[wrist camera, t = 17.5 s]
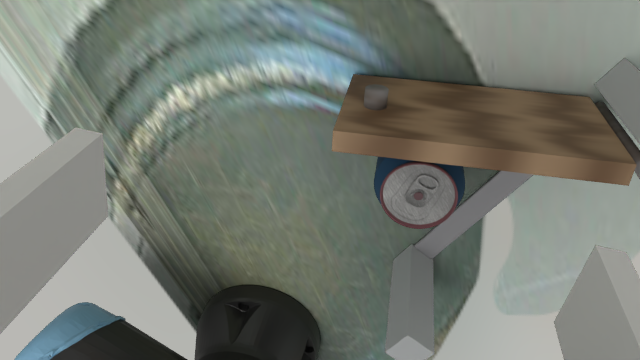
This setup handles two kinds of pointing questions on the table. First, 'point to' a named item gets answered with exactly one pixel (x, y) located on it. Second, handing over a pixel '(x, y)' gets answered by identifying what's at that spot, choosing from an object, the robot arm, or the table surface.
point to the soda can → (418, 191)
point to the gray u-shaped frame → (417, 260)
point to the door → (485, 129)
